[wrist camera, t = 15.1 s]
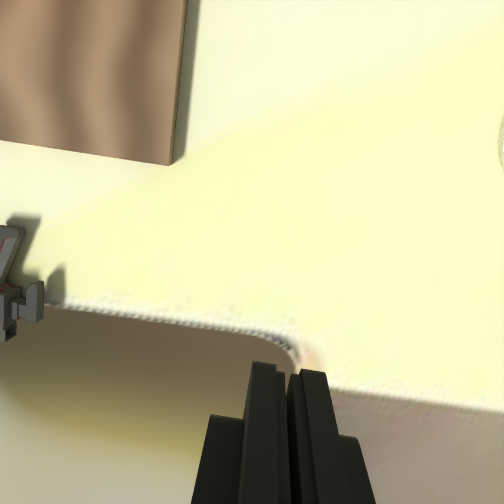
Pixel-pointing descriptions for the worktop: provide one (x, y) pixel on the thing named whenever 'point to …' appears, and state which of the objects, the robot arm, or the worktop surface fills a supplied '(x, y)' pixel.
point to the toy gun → (9, 297)
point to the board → (92, 75)
